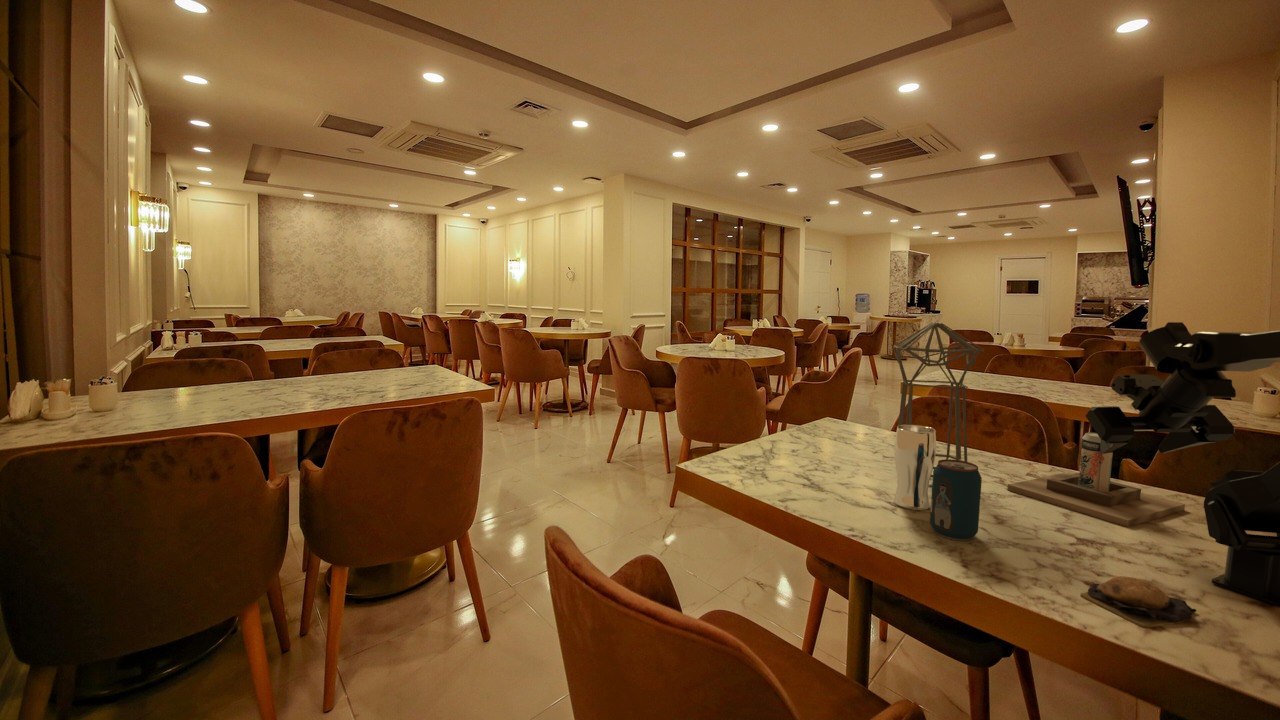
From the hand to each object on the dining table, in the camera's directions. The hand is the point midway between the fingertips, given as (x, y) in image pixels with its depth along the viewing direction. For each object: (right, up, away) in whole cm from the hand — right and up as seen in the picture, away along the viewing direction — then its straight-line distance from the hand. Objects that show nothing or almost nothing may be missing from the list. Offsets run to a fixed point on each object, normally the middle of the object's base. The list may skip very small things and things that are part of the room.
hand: (1131, 451), depth 93 cm
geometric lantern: (-25, -10, +21) cm, 34 cm away
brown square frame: (+2, -11, +10) cm, 15 cm away
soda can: (-36, -13, -6) cm, 39 cm away
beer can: (+2, -10, +10) cm, 14 cm away
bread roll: (-25, -16, -27) cm, 40 cm away
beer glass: (-36, -12, +7) cm, 39 cm away
